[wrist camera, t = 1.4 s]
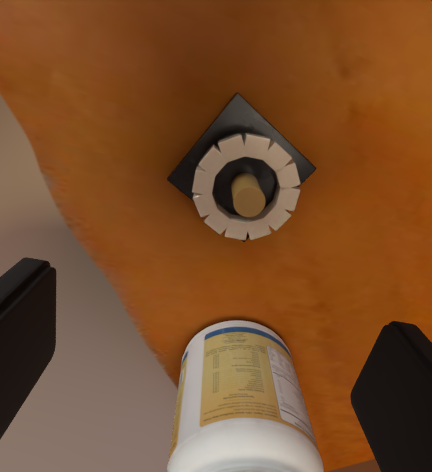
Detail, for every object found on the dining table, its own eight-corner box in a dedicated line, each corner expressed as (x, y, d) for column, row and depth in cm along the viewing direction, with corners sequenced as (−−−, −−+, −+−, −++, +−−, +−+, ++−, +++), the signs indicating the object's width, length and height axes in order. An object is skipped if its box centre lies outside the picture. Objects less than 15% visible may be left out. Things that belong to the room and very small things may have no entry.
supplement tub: (242, 411, 40) (258, 610, 25) (161, 365, 37) (121, 557, 22) (313, 351, 36) (383, 541, 21) (228, 294, 34) (237, 466, 18)
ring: (241, 110, 22) (243, 111, 21) (316, 181, 24) (321, 185, 22) (173, 191, 24) (171, 196, 23) (247, 250, 26) (248, 258, 25)
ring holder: (236, 92, 26) (245, 90, 18) (313, 166, 28) (352, 195, 20) (168, 176, 29) (148, 209, 20) (243, 238, 31) (252, 289, 23)
